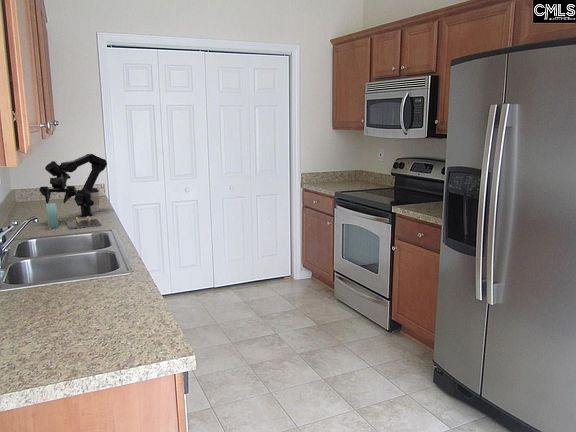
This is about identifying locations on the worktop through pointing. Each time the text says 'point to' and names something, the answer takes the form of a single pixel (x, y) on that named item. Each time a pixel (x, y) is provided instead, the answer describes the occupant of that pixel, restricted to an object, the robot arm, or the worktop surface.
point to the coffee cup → (95, 199)
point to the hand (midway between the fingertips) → (55, 202)
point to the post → (52, 215)
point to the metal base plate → (83, 223)
